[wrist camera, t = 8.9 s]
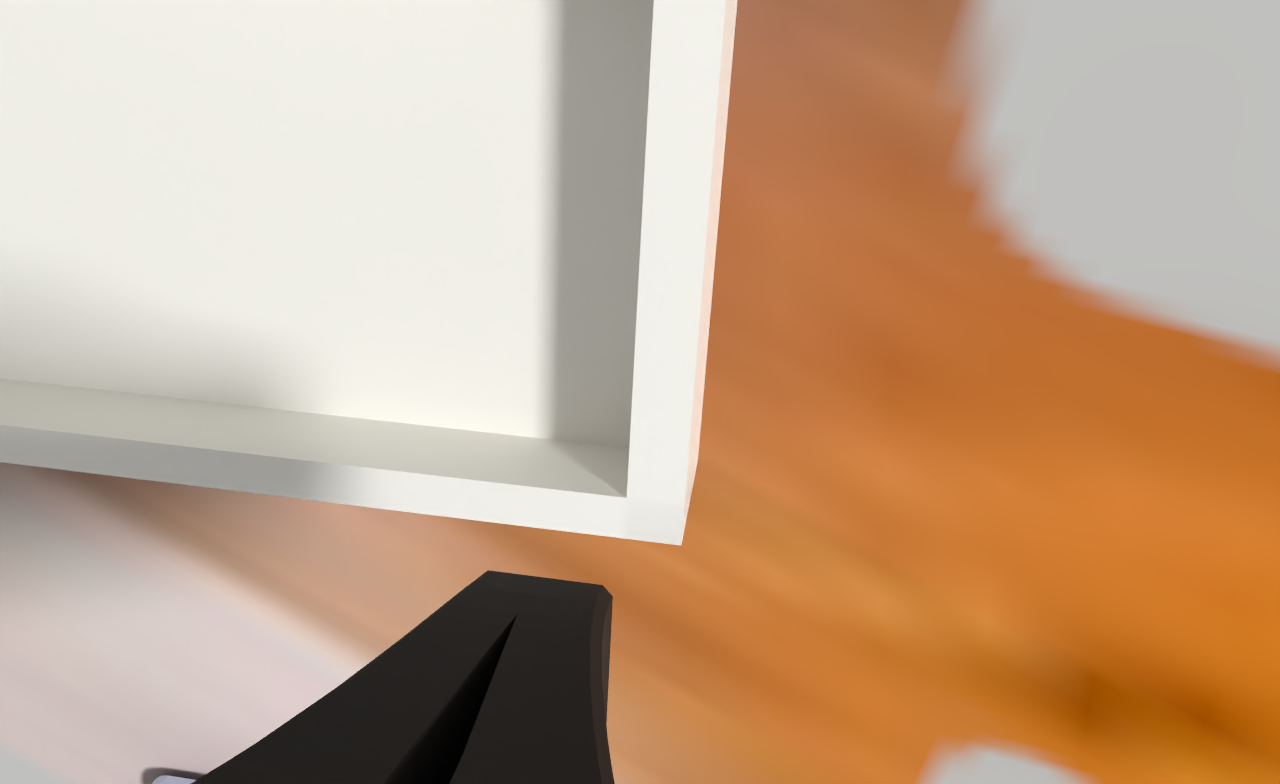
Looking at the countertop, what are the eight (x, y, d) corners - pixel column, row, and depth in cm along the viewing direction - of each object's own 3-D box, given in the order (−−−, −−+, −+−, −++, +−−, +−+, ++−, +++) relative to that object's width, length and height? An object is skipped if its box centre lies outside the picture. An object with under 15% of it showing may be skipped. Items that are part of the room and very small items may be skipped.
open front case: (698, 459, 19) (681, 545, 15) (-33, 378, 21) (-184, 439, 17) (743, -75, 15) (735, -110, 12) (-150, -112, 17) (-370, -151, 14)
